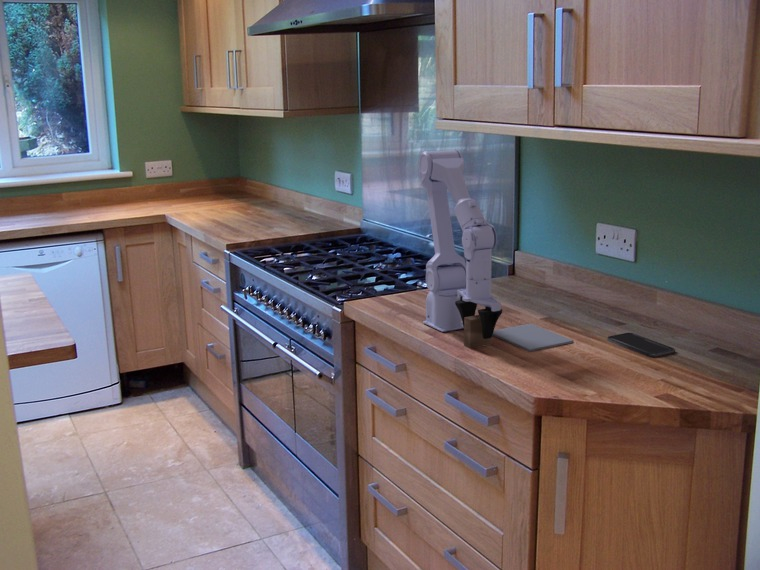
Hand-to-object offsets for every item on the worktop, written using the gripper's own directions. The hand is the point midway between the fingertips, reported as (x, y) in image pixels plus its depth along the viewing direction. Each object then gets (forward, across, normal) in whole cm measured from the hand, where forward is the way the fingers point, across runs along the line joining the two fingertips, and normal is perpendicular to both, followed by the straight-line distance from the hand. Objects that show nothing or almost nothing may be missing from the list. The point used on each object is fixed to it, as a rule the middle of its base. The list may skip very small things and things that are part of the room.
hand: (477, 333), depth 193 cm
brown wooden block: (+3, 0, 0) cm, 3 cm away
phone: (+3, +20, +32) cm, 38 cm away
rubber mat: (+3, +2, +14) cm, 14 cm away
